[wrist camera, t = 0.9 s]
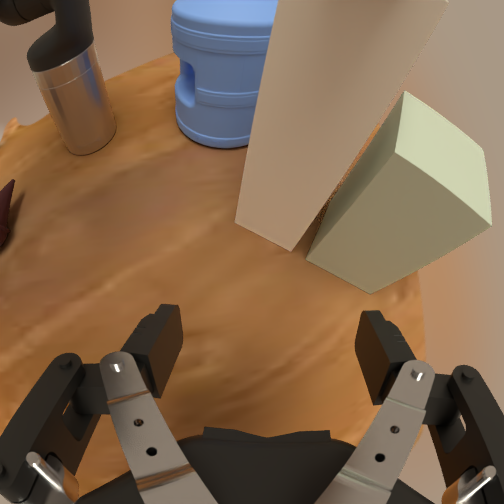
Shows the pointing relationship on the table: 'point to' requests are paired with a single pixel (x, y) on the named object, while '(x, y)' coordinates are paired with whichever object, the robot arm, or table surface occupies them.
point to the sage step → (404, 200)
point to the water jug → (220, 66)
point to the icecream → (5, 209)
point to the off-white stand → (323, 102)
